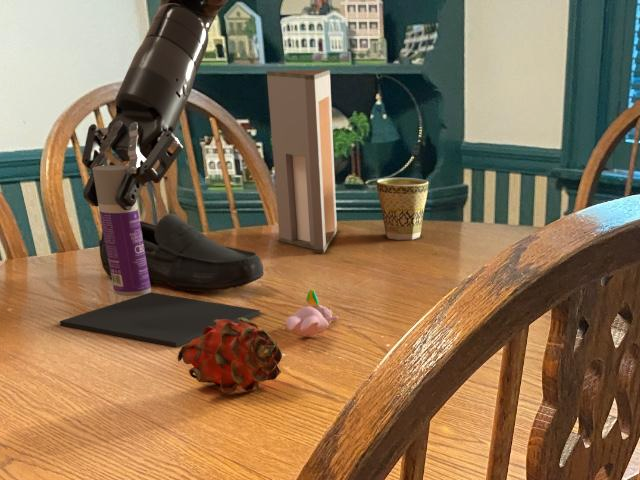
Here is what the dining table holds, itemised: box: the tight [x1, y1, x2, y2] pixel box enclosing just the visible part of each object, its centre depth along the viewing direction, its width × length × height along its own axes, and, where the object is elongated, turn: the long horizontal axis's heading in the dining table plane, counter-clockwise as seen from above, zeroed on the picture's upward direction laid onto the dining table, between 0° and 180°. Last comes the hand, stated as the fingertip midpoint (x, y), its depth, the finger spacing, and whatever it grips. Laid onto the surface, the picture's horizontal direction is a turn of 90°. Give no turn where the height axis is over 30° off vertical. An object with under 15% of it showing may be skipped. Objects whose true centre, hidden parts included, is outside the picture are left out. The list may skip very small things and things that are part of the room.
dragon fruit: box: [175, 318, 283, 395], centre depth 102 cm, size 8×8×12 cm
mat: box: [59, 291, 261, 348], centre depth 126 cm, size 20×18×1 cm
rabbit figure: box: [285, 288, 339, 338], centre depth 120 cm, size 6×6×15 cm
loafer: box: [98, 213, 265, 292], centre depth 140 cm, size 10×29×10 cm, turn 71°
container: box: [93, 164, 152, 297], centre depth 116 cm, size 5×5×15 cm
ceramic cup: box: [375, 177, 429, 241], centre depth 177 cm, size 13×10×10 cm
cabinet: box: [266, 69, 338, 254], centre depth 165 cm, size 21×10×28 cm, turn 179°
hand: (106, 203), depth 113 cm, fingers closed on container, 4 cm apart
